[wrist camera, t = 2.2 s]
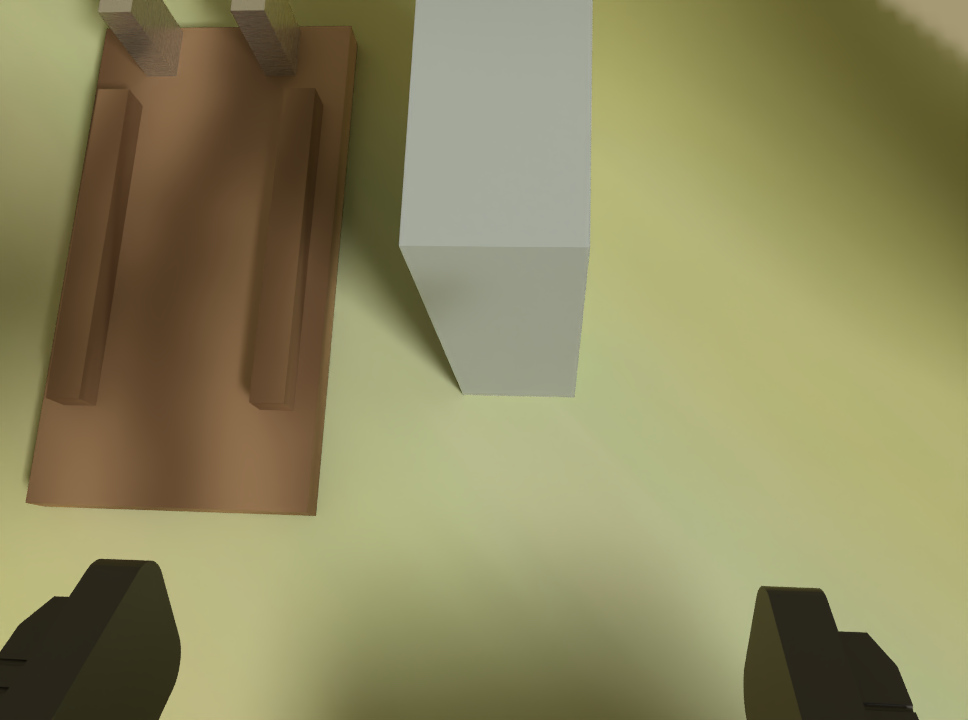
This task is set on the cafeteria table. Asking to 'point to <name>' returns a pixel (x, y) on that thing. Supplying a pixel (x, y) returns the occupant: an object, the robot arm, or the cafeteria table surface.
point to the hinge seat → (201, 268)
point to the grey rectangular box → (501, 187)
